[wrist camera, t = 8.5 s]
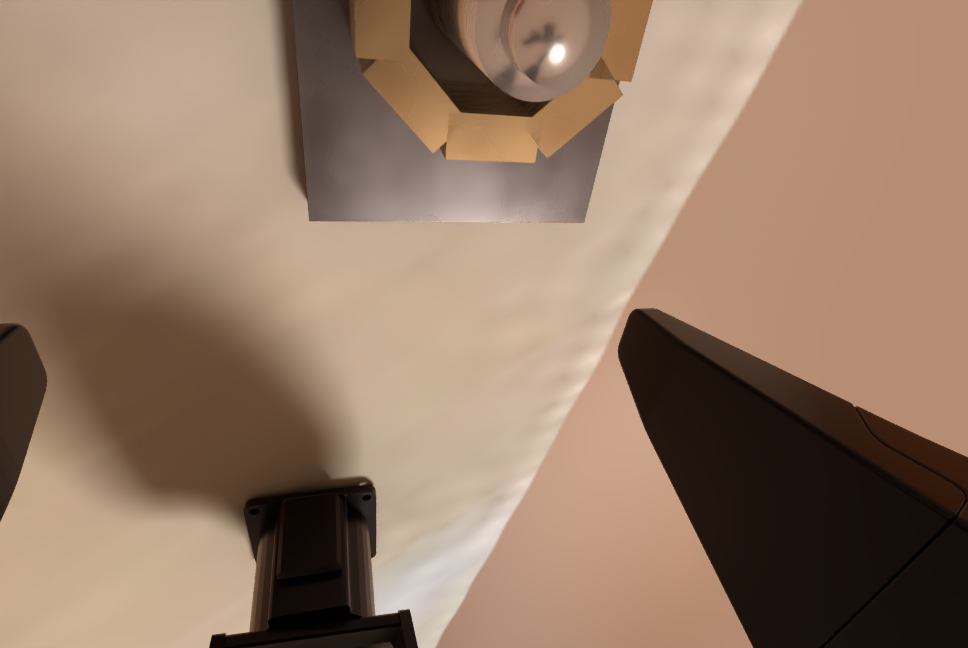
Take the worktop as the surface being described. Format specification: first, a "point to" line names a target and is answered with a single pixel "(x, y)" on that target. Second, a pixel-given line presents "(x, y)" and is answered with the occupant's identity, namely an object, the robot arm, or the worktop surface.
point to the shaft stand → (456, 57)
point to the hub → (487, 88)
